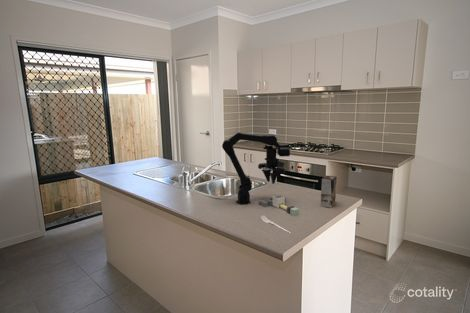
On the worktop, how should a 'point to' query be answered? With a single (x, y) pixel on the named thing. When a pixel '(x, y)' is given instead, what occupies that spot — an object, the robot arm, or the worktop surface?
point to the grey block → (278, 200)
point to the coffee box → (328, 191)
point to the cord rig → (269, 202)
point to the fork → (273, 223)
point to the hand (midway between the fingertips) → (270, 182)
